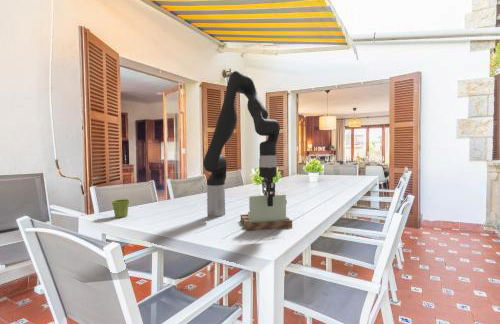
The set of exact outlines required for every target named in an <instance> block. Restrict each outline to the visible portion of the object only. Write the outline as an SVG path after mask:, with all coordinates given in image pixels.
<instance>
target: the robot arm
mask: <svg viewBox="0 0 500 324" xmlns="http://www.w3.org/2000/svg"><path fill="white" fill-rule="evenodd" d="M238 93H239V94H243V95H244V96H245V97H246V98H247V104H246V105H247V107H246V108H247V110H248V112H249V114H250V116H251V118H252V121H253V126H254V130H255V133H257V135H259V136H263V137H265V136H267V139H266V140H264V141H262V142H260V143H259V157H258V158H259V159H258V162H259V163H258V169H259V170H258V171H259V174H258V176H259V178H262V180H261V191H262V194H263V195H267V197H268V198H267V205H268V206H273V197H275V190H276V183H275V182H274V180H273V178H276V177H277V176H278V173H277V172H278V170H277V169H278V167H277V166H278V164H277V161H278V160H277V142H278V138H279V135H280V130H281V128H280V127H281V126H280V124H279V121H278V120H276V119H271V118H270V119H269V118H268V117H269V112H268V111H267V109H266V107H265V105H264V104H263V102H262V101H261V99H260V95H259V94H258V91H257V88H256V85H255V83H254V81H253V79H252V77H251V76H250V75H248V74H247V73H246V74H245V73H243V72H240V71H238V70H237V71H236V70H235V71H233V72H231V74H230V75H229V77H228V80H227V84H226V89H225V94H224V99H223V103H222V106H221V109H220V112H219V115H218V118H217V122H216V124H215V127H214V128H215V129H214V131H213V135H212V137H211V140H210V144H209V147H208V148H207V151H206V153H205V154H204V155H205V156H204V158H203V161H202V162H203V167H204V168H203V169H204V170H205V171H207V172H208V173H210V176H209V177H208V178H207V180H206V196H207V197H206V198H207V199H206V216H207V218H212V217H213V218H215V217H218V218H219V217H224V216H225V215H226V190H225V189H226V186H225V185H226V179H227V159H226V157H225V156H224V154H222V150H223V148H224V147H225V145H226V144H227V142H228V141H229V140H230V139H231V137H232V135H233V133H234V131H235V128H236V125H237V122H238V116H237V111H236V106H235V105H236V104H235V101H236V95H237V94H238ZM270 192H271V194H270ZM263 195H262V196H263Z"/></svg>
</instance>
